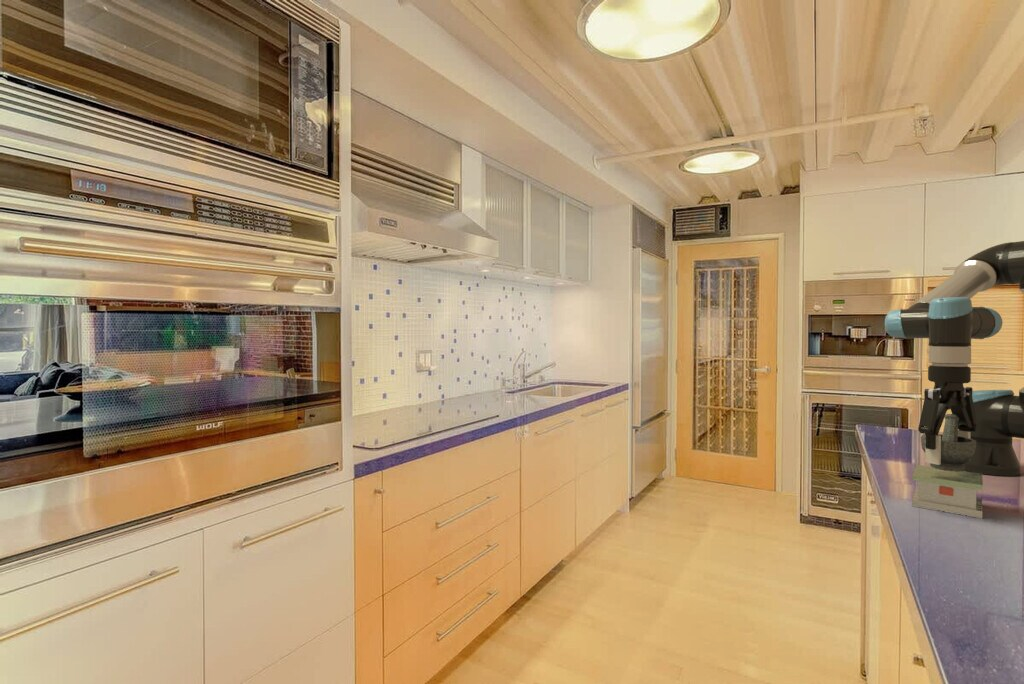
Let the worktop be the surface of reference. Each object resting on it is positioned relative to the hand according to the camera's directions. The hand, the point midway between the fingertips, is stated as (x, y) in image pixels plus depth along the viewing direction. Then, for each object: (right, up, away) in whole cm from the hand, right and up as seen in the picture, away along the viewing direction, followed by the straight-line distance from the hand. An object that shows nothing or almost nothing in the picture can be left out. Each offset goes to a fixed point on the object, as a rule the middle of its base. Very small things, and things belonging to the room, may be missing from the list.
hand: (947, 461), depth 120 cm
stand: (0, -10, 0) cm, 10 cm away
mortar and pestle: (0, -2, 0) cm, 2 cm away
